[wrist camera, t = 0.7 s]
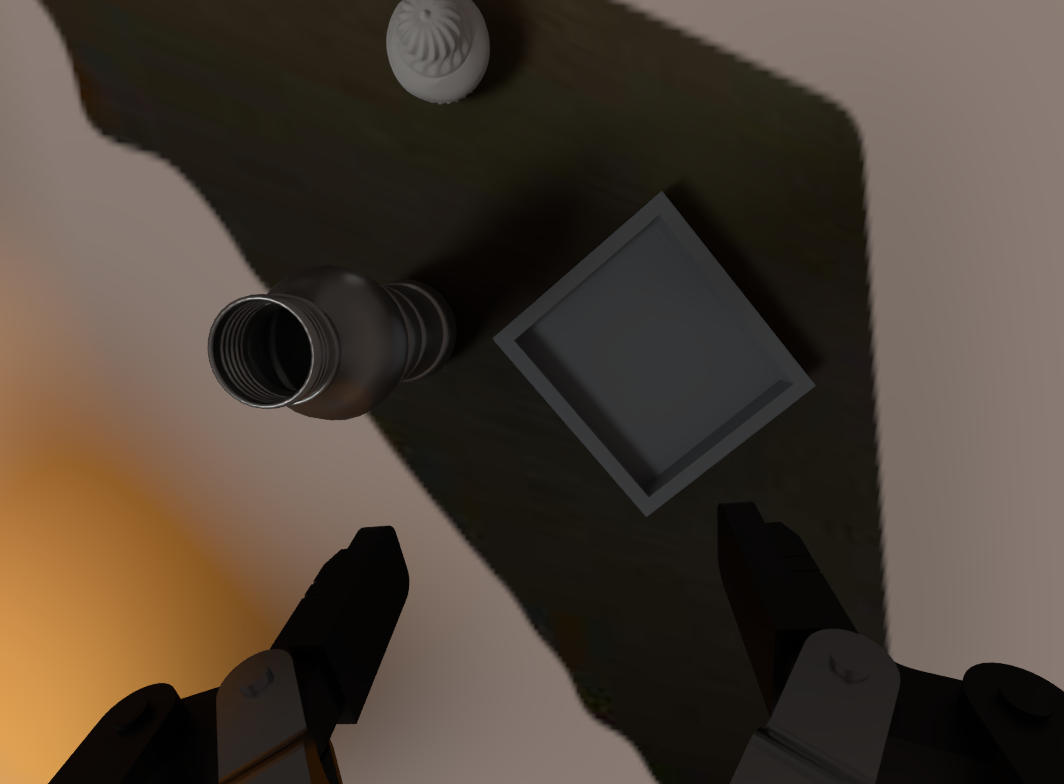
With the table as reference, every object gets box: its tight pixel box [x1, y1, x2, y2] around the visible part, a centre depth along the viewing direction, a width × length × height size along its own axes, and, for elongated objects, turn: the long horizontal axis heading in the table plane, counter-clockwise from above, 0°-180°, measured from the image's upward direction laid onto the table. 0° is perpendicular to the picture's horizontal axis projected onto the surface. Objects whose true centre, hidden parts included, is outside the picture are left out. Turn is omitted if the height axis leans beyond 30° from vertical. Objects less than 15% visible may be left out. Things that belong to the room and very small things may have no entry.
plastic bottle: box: [208, 265, 457, 420], centre depth 26 cm, size 6×7×20 cm
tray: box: [493, 191, 815, 517], centre depth 34 cm, size 16×14×3 cm
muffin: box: [386, 0, 490, 105], centre depth 30 cm, size 6×6×7 cm
